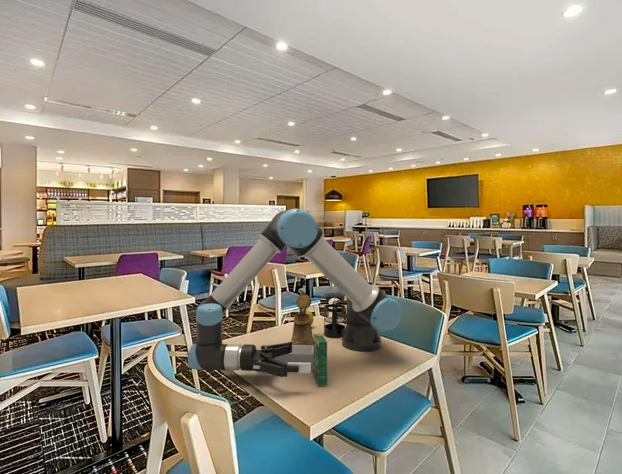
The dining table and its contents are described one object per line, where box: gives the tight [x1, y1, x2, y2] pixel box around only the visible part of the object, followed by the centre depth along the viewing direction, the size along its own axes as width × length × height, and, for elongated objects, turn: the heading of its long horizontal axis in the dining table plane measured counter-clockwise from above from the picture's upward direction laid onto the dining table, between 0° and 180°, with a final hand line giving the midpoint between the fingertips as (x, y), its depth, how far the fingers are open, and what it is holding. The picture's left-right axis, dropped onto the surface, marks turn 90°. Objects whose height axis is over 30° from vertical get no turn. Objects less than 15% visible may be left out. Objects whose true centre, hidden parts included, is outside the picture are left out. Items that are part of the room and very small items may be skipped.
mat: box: [256, 353, 314, 374], centre depth 117 cm, size 18×14×1 cm
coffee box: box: [312, 333, 328, 387], centre depth 104 cm, size 8×3×13 cm, turn 10°
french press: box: [323, 284, 346, 339], centre depth 147 cm, size 12×9×23 cm
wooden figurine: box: [290, 292, 313, 346], centre depth 138 cm, size 9×14×18 cm, turn 176°
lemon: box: [306, 309, 314, 326], centre depth 155 cm, size 6×6×8 cm
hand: (311, 358), depth 104 cm, fingers open, 13 cm apart
